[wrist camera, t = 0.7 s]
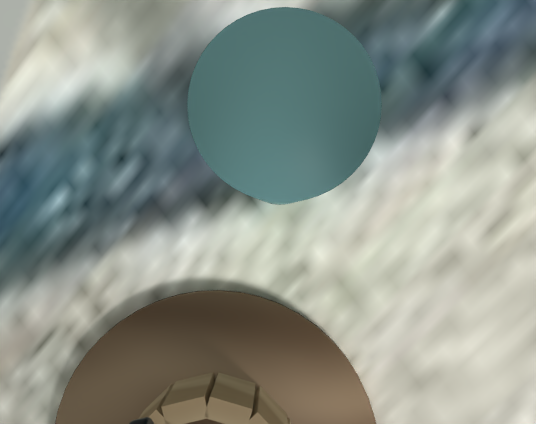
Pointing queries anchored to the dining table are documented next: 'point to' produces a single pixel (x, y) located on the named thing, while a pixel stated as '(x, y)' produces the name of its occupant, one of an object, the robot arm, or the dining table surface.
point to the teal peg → (284, 104)
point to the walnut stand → (215, 368)
